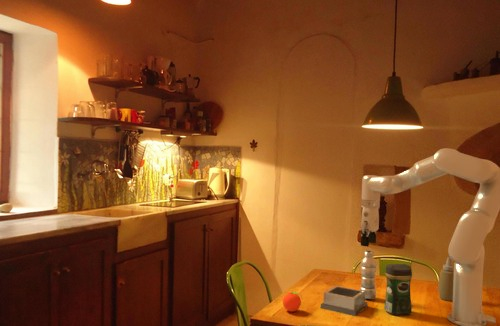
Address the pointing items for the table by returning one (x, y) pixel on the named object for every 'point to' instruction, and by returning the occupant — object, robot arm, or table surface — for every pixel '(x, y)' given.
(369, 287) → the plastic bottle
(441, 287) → the squeeze bottle
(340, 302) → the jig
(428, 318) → the table surface
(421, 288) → the table surface
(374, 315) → the table surface
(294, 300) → the clementine
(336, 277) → the table surface
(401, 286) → the coffee jar
